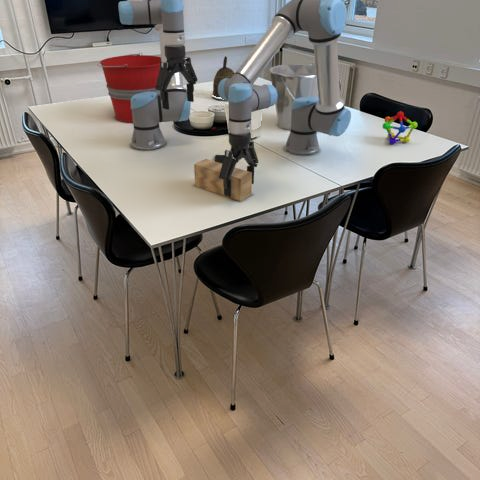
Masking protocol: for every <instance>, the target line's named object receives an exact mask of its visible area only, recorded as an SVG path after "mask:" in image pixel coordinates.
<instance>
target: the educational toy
mask: <svg viewBox="0 0 480 480" xmlns="http://www.w3.org/2000/svg"><path fill="white" fill-rule="evenodd" d="M397 119H399V124H400V125H399V127H398V126H393V125H391V124H392V123H394V122H395V121H396V120H397ZM403 120H404V121H405V122H407V123H408V124H409V125H407V126H404V123H403ZM417 127H418V122H417V121H411V120H410V119H409V118H408V117H406V116H405V113H404V112H403V111H401V110H400V111H398V112H397V114H396V115H394V116H391V117H390V116H386V117H385V118H384V122H383V123H382V129H383V130H386V132H387V138H388V142H389V145H395V144H396V143H397V142H402V141H403V142H404V143H409V142H410V140H411V138H410V136H411V134H412V132H413V131H414V130H415V129H417ZM392 129H393V130H397V131H398V132H396V134H395V133H394V132H392ZM408 129H409V131H408V133H407V134H406V135H404V136H401V134H403V133H405V132H406V130H408ZM399 135H400V136H399Z"/></svg>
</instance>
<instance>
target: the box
mask: <svg viewBox="0 0 480 480" xmlns="http://www.w3.org/2000/svg"><path fill="white" fill-rule="evenodd" d="M221 167H222V163H218V162H215V161H214V160H213V159H212V160H211V159H208V158H205V159H202V160H200V161H198V162H195V163H194V164H193V173H194V186H195V187H198V188H201V189H203V190H206V191H209V192H211V193H215V194H217V195H220V196H224V197H227V198H230V199H232V200H235V201H238V202H242V201H243V200H245V199H247V198H248V197H250V196H252V194H253V193H252V189H253V188H252V187H253V184H252V172H248V171H247V170H245V169H241V168H239V167H235V168H234V170H233V172H232V175H231V177H230V179H231V197H228V196H225V195H224V187H223V180H222V179H219V174H220V171H221ZM222 176H223V175H222ZM227 176H228V175H227Z"/></svg>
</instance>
